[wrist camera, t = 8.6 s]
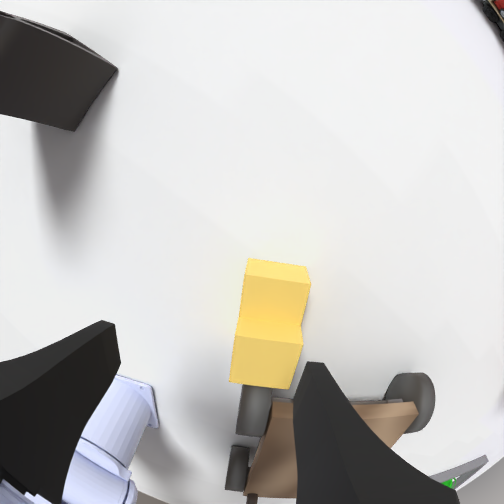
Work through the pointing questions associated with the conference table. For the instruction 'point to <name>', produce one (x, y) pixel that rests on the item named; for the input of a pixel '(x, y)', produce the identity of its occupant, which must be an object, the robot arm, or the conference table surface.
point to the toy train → (495, 13)
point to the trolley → (282, 434)
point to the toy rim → (461, 472)
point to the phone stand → (47, 73)
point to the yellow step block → (269, 324)
